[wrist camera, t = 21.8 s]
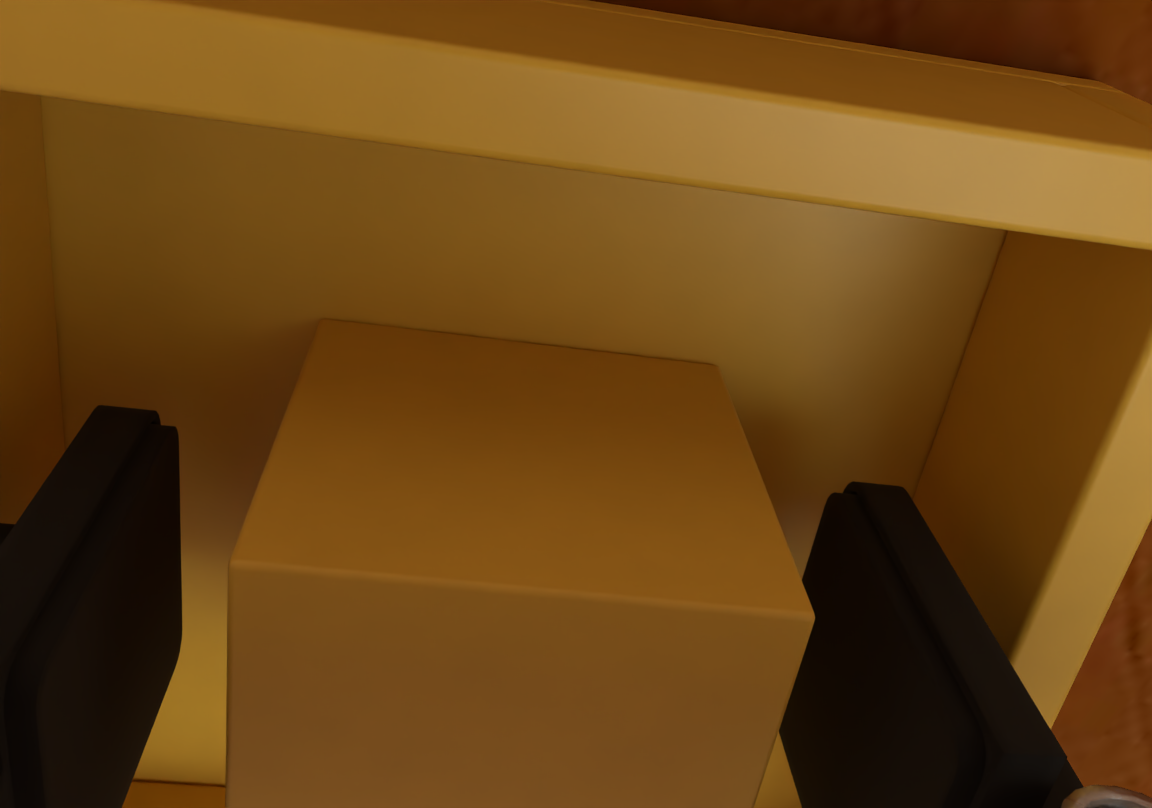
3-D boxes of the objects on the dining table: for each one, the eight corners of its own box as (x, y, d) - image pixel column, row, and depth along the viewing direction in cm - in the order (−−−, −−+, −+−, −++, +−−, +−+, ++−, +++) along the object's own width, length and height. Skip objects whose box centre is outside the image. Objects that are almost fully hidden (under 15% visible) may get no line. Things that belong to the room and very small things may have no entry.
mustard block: (303, 636, 14) (222, 959, 10) (319, 315, 12) (226, 562, 8) (647, 665, 14) (699, 982, 11) (719, 363, 12) (819, 616, 8)
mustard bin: (48, 778, 16) (-68, 1022, 12) (-32, -100, 10) (-271, -66, 7) (823, 830, 17) (895, 1060, 14) (1101, 80, 12) (1321, 175, 9)
